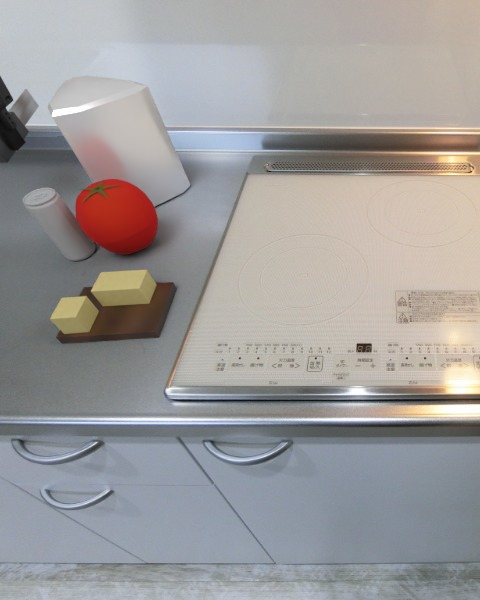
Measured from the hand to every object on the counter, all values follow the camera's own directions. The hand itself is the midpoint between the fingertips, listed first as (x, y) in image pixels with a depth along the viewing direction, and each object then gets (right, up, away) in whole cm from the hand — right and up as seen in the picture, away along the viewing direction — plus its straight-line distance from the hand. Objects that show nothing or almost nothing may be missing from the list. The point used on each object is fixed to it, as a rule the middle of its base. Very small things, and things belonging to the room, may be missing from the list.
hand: (10, 146), depth 77 cm
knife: (0, +4, +3) cm, 5 cm away
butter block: (+27, -27, -9) cm, 39 cm away
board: (+26, -29, -10) cm, 41 cm away
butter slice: (+22, -31, -13) cm, 40 cm away
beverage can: (+13, -19, 0) cm, 23 cm away
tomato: (+22, -18, +1) cm, 28 cm away
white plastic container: (+17, -7, +10) cm, 21 cm away
